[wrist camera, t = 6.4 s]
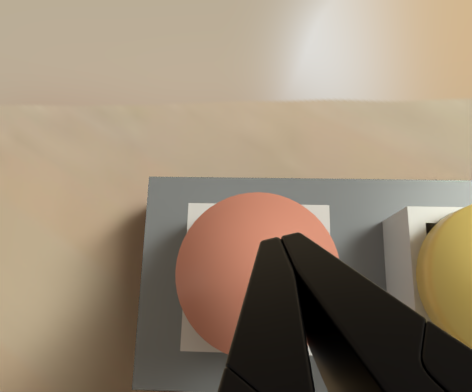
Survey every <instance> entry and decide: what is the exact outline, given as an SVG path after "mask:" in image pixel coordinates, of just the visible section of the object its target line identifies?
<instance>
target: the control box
mask: <svg viewBox="0 0 472 392" xmlns="http://www.w3.org/2000/svg"><path fill="white" fill-rule="evenodd" d="M253 192H262V193H271V194H276V195H280V196H283V197H286V198H289V199H291V200H293V201H295V202H297V203H299V204H301V205H302V206H304V207H305V208H307V209H308V210H309V211H310V212H311V213H313V214H314V215H315V216H316V217H317V218H318V219H319V220H320V221H321V223H322V224H323V225H324V227H325V228H326V229H327V231H328V232H329V234H330V236H331V238H332V240H333V242H334V244H335V247H336V249H337V252H338V256H339V259H340V260H341V261H343V262H344V263H346V264H347V265H349V266H350V267H352V268H353V269H354V270H356V271H357V272H359V273H360V274H362V275H363V276H365V277H366V278H368V279H369V280H371V281H372V282H373V283H375V284H376V285H378V286H379V287H381V288H382V289H384V290H385V291H387V292H388V293H390V294H391V295H392V296H394V297H395V298H397V299H398V300H400V301H401V302H403V303H404V304H406V305H407V306H408V307H410V308H411V309H413V310H414V311H416V312H417V313H419V314H420V315H422V316H423V317H425V318H426V322H427V321H431V320H430V318H429V316H428V314H427V313H426V311H425V309H424V306H423V304H422V302H421V299H420V296H419V292H418V288H417V281H416V265H417V258H418V254H419V251H420V248H421V246H422V243H423V241H424V239H425V238H426V236H427V234H428V233H429V232H430V230H431V229H432V228H433V227H434V226H435V225H436V224H437V223H438V222H439V221H440V220H441V219H443V218H444V217H446V216H447V215H449V214H451V213H453V212H455V211H457V210H460V209H462V208H464V207H467V206H469V205H471V204H472V180H387V179H300V178H213V177H149V185H148V198H147V210H146V223H145V235H144V247H143V260H142V272H141V284H140V297H139V309H138V321H137V334H136V346H135V358H134V371H133V383H132V390H153V391H179V392H217V391H218V388H219V384H220V381H221V377H222V374H223V370H224V369H225V368H226V367H225V364H226V361H227V357H228V354H225V353H223V352H221V351H220V350H218V349H216V348H214V347H213V346H211V345H210V344H209V343H208V342H206V341H205V340H204V339H203V338H202V337H201V336H200V335H199V334H198V333H197V332H196V331H195V330H194V328H193V327H192V326H191V324H190V323H189V321H188V319H187V318H186V316H185V314H184V312H183V310H182V307H181V305H180V302H179V298H178V295H177V289H176V282H175V270H176V262H177V257H178V253H179V249H180V247H181V244H182V242H183V239H184V237H185V236H186V234H187V232H188V230H189V229H190V227H191V226H192V225H193V223H194V222H195V221H196V220H197V219H198V218H199V217H200V216H201V215H202V214H203V213H204V212H205V211H206V210H208V209H209V208H210V207H212V206H213V205H215V204H216V203H218V202H220V201H222V200H224V199H226V198H229V197H232V196H235V195H238V194H244V193H253ZM431 322H432V321H431ZM432 323H433V322H432ZM308 351H309V357H310V363H311V369H312V375H313V381H314V387H315V392H328V390H327V388H326V386H325V383H324V381H323V379H322V376H321V374H320V372H319V369H318V367H317V365H316V362H315V360H314V358H313V356H312V353H311V351H310V348H309V346H308Z"/></svg>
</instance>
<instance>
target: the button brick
mask: <svg viewBox="0 0 472 392" xmlns="http://www.w3.org/2000/svg"><path fill="white" fill-rule="evenodd" d="M296 232H299V233H302V234H303V235H305V236H306V237H308V238H309V239H311V240H312V241H314V242H315V243H317V244H318V245H319V246H321V247H322V248H324V249H325V250H327V251H328V252H330V253H331V254H333V255H334V256H335V257H337V258H338V259H339V256H338V252H337V249H336V247H335V244H334V242H333V240H332V238H331V236H330V234H329V232H328V231H327V229H326V228H325V227H324V225H323V224H322V223H321V221H320V220H319V219H318V218H317V217H316V216H315V215H314V214H313V213H311V212H310V211H309V210H308V209H307V208H305V207H304V206H302V205H301V204H299V203H297V202H295V201H293V200H291V199H289V198H286V197H283V196H280V195H276V194H271V193H262V192H253V193H244V194H238V195H235V196H232V197H229V198H226V199H224V200H222V201H220V202H218V203H216V204H215V205H213V206H212V207H210V208H209V209H208V210H206V211H205V212H204V213H203V214H202V215H201V216H200V217H199V218H198V219H197V220H196V221H195V222H194V223H193V225H192V226H191V227H190V229H189V230H188V232H187V234H186V236H185V237H184V239H183V242H182V244H181V247H180V249H179V253H178V257H177V262H176V270H175V282H176V289H177V295H178V298H179V302H180V305H181V307H182V310H183V312H184V314H185V316H186V318H187V319H188V321H189V323H190V324H191V326H192V327H193V328H194V330H195V331H196V332H197V333H198V334H199V335H200V336H201V337H202V338H203V339H204V340H205V341H206V342H208V343H209V344H210V345H211V346H213V347H214V348H216V349H218V350H220V351H221V352H223V353H225V354H228V353H229V350H230V346H231V343H232V339H233V336H234V332H235V329H236V325H237V322H238V318H239V315H240V311H241V308H242V304H243V301H244V297H245V294H246V290H247V287H248V283H249V279H250V276H251V272H252V269H253V265H254V262H255V258H256V255H257V251H258V248H259V244H260V242H261V241H262V240H266V239H270V238H274V237H279V238H280V239H281V237H282V236H283V235H288V234H292V233H296ZM307 345H308V343H307Z"/></svg>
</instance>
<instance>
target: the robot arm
mask: <svg viewBox="0 0 472 392" xmlns="http://www.w3.org/2000/svg"><path fill="white" fill-rule="evenodd" d="M307 343H308V345H307ZM308 346H309V348H310V351H311V353H312V356H313V358H314V360H315V362H316V365H317V367H318V369H319V372H320V374H321V376H322V379H323V381H324V383H325V386H326V388H327V390H328V392H472V349H471V348H470V347H468V346H467V345H465V344H464V343H462V342H461V341H459V340H457V339H456V338H454V337H453V336H451V335H450V334H448V333H447V332H445V331H444V330H442V329H441V328H439V327H438V326H437V325H435V324H434V323H432V322H431V321H427V322H426V318H425V317H423V316H422V315H420V314H419V313H417V312H416V311H414V310H413V309H411V308H410V307H408V306H407V305H406V304H404V303H403V302H401V301H400V300H398V299H397V298H395V297H394V296H392V295H391V294H390V293H388V292H387V291H385V290H384V289H382V288H381V287H379V286H378V285H376V284H375V283H373V282H372V281H371V280H369V279H368V278H366V277H365V276H363V275H362V274H360V273H359V272H357V271H356V270H354V269H353V268H352V267H350V266H349V265H347V264H346V263H344V262H343V261H341V260H340V259H338V258H337V257H335V256H334V255H333V254H331V253H330V252H328V251H327V250H325V249H324V248H322V247H321V246H319V245H318V244H317V243H315V242H314V241H312V240H311V239H309V238H308V237H306V236H305V235H303V234H302V233H299V232H296V233H292V234H288V235H283V236H282V237H281V239H280V238H279V237H274V238H270V239H266V240H262V241H261V242H260V244H259V248H258V251H257V255H256V258H255V262H254V265H253V269H252V272H251V276H250V279H249V283H248V287H247V290H246V294H245V297H244V301H243V304H242V308H241V311H240V315H239V318H238V322H237V325H236V329H235V332H234V336H233V339H232V343H231V346H230V350H229V353H228V357H227V361H226V364H225V367H226V368H225V369H224V370H223V374H222V377H221V381H220V384H219V388H218V391H217V392H315V387H314V381H313V375H312V369H311V363H310V357H309V351H308Z"/></svg>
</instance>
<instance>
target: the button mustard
mask: <svg viewBox="0 0 472 392" xmlns="http://www.w3.org/2000/svg"><path fill="white" fill-rule="evenodd" d="M416 281H417V288H418V292H419V296H420V299H421V302H422V304H423V306H424V309H425V311H426V313H427V314H428V316H429V318H430V320H431V321H432V322H433V323H434V324H435V325H437V326H438V327H439V328H441V329H442V330H444V331H445V332H447V333H448V334H450V335H451V336H453V337H454V338H456V339H457V340H459V341H461V342H462V343H464V344H465V345H467V346H468V347H470V348H471V349H472V204H471V205H469V206H467V207H464V208H462V209H460V210H457V211H455V212H453V213H451V214H449V215H447V216H446V217H444V218H443V219H441V220H440V221H439V222H438V223H437V224H436V225H435V226H434V227H433V228H432V229H431V230H430V232H429V233H428V234H427V236H426V238H425V239H424V241H423V243H422V246H421V248H420V251H419V254H418V258H417V265H416Z"/></svg>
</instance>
